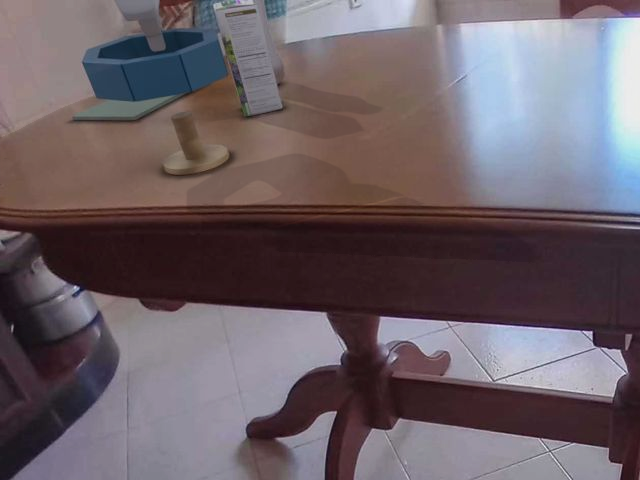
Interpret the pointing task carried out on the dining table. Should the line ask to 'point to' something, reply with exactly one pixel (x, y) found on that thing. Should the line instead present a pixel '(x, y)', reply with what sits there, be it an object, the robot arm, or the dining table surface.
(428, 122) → the dining table surface
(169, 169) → the dowel stand
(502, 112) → the dining table surface
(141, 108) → the rubber mat
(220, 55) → the blue ring
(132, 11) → the robot arm
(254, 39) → the syrup box
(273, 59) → the plastic bottle
